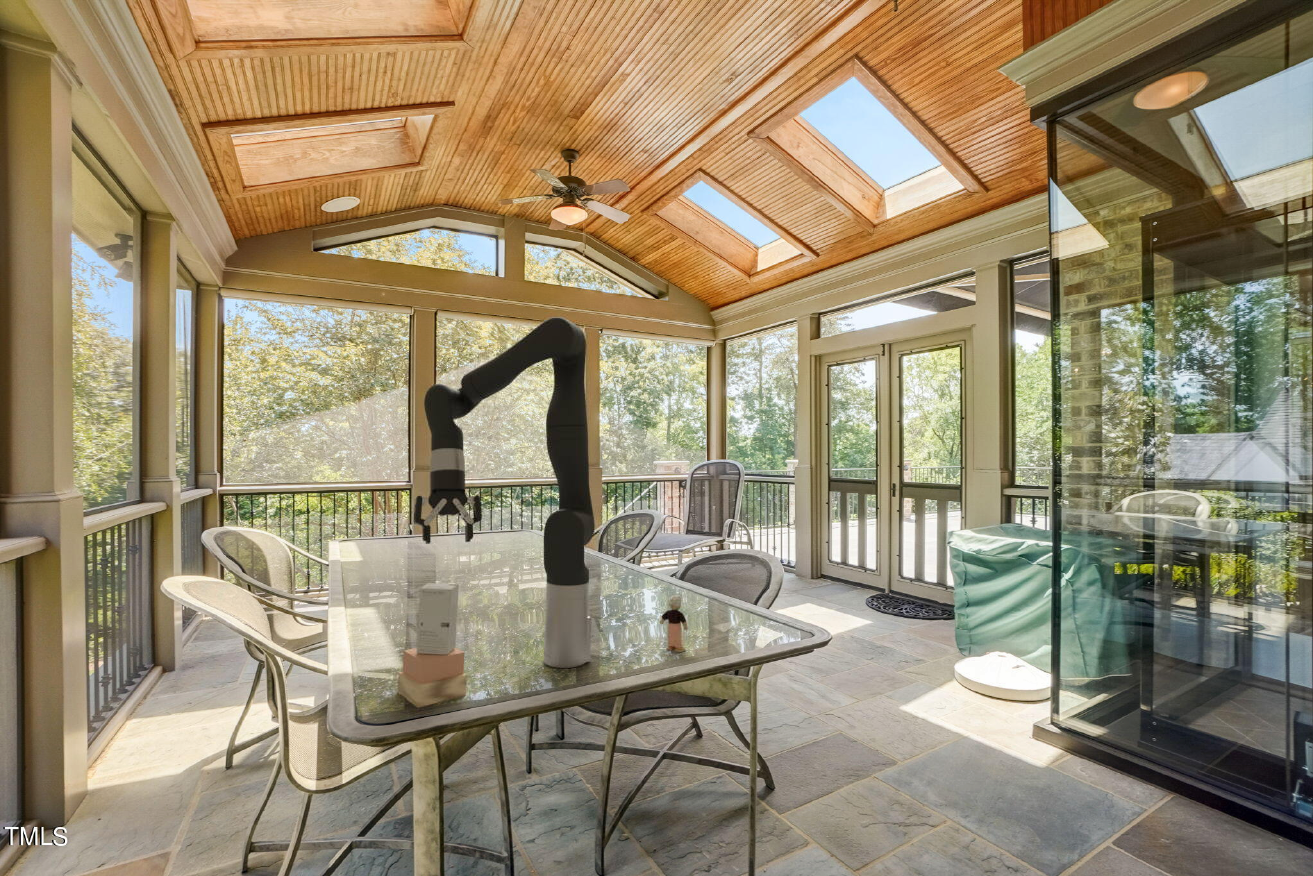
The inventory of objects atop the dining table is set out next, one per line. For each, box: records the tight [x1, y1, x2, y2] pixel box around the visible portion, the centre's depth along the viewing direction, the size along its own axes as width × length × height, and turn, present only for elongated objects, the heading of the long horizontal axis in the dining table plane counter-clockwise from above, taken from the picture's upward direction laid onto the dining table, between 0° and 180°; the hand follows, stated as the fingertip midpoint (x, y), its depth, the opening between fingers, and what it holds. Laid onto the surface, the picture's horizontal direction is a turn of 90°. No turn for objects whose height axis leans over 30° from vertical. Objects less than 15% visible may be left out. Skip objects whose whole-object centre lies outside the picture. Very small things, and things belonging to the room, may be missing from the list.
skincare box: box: [416, 582, 460, 655], centre depth 113 cm, size 6×4×12 cm
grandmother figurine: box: [659, 594, 689, 653], centre depth 144 cm, size 8×4×13 cm, turn 65°
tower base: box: [397, 671, 468, 708], centre depth 113 cm, size 9×9×4 cm
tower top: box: [402, 647, 465, 684], centre depth 113 cm, size 8×8×4 cm
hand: (448, 542), depth 135 cm, fingers open, 8 cm apart
